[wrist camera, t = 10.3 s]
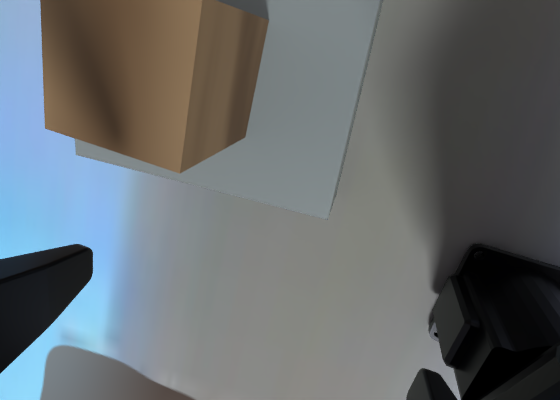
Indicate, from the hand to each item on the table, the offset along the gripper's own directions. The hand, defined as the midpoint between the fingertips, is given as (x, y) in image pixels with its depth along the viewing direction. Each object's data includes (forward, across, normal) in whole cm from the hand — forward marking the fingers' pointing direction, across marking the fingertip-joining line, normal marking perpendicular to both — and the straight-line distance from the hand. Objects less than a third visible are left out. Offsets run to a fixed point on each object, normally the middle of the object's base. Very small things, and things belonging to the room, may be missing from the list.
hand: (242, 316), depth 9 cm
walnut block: (+9, +6, -5) cm, 11 cm away
